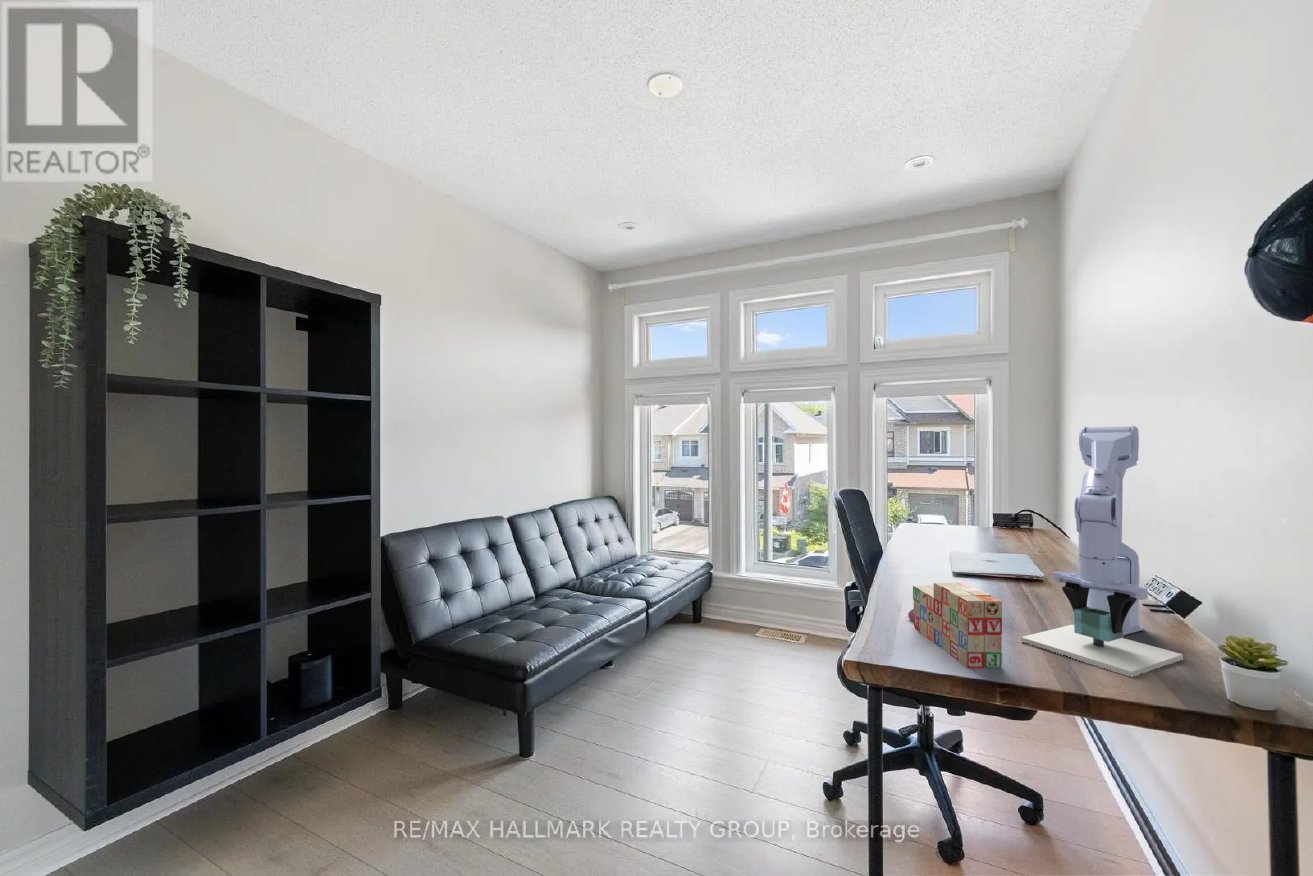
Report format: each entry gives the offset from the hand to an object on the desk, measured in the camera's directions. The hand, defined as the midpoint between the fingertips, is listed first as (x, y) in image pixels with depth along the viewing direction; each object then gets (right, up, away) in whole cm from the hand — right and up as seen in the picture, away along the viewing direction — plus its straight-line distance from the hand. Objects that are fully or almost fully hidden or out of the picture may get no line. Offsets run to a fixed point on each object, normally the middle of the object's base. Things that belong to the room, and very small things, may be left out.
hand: (1098, 627), depth 102 cm
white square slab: (0, -4, 0) cm, 4 cm away
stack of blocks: (-27, -5, +2) cm, 27 cm away
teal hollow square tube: (0, -1, 0) cm, 1 cm away
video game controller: (-23, -5, +18) cm, 29 cm away
